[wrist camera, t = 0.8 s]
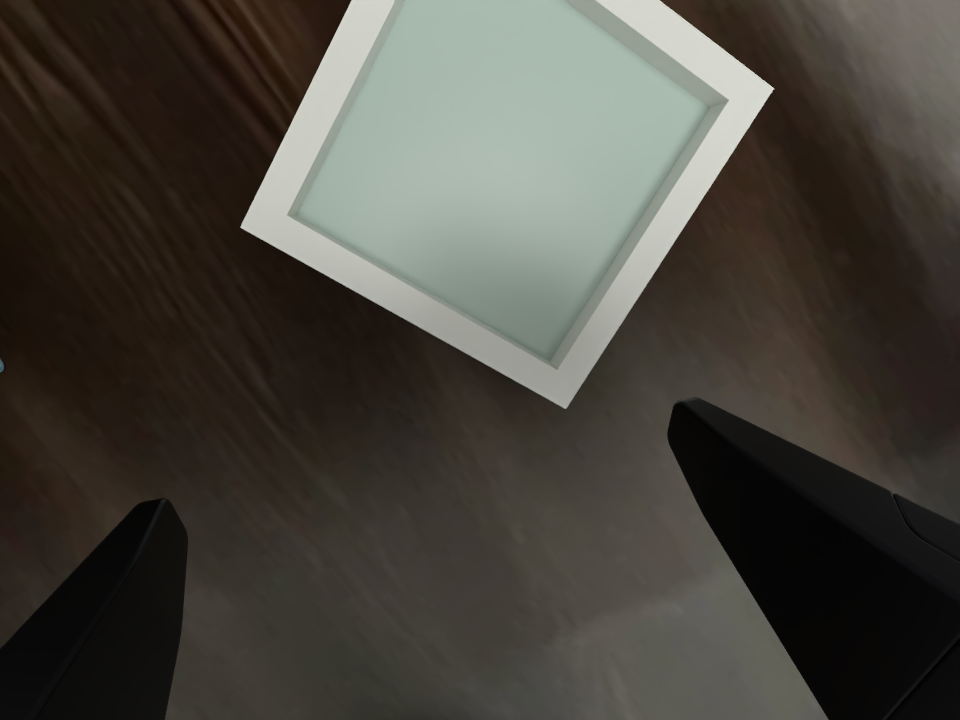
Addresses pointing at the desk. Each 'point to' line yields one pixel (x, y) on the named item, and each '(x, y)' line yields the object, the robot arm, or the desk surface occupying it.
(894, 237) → the desk surface
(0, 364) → the push button
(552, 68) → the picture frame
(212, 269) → the desk surface
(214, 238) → the desk surface
